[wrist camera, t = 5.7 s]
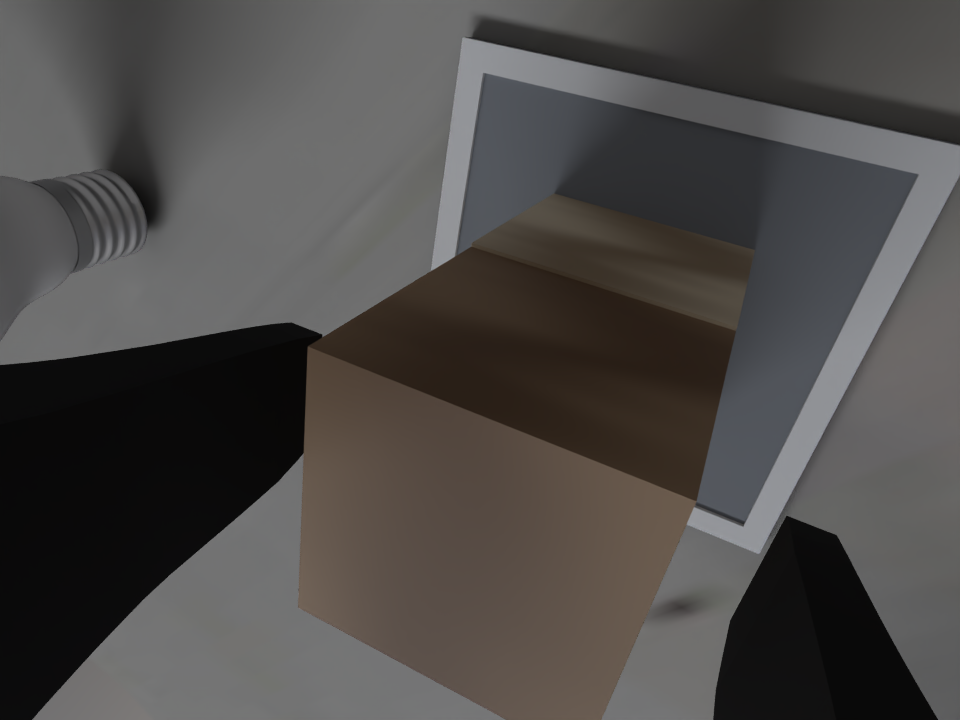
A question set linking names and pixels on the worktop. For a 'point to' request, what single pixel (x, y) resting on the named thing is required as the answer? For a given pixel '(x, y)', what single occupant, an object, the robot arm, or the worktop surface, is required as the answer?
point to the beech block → (628, 257)
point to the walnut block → (504, 478)
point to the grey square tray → (714, 230)
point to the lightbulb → (62, 232)
